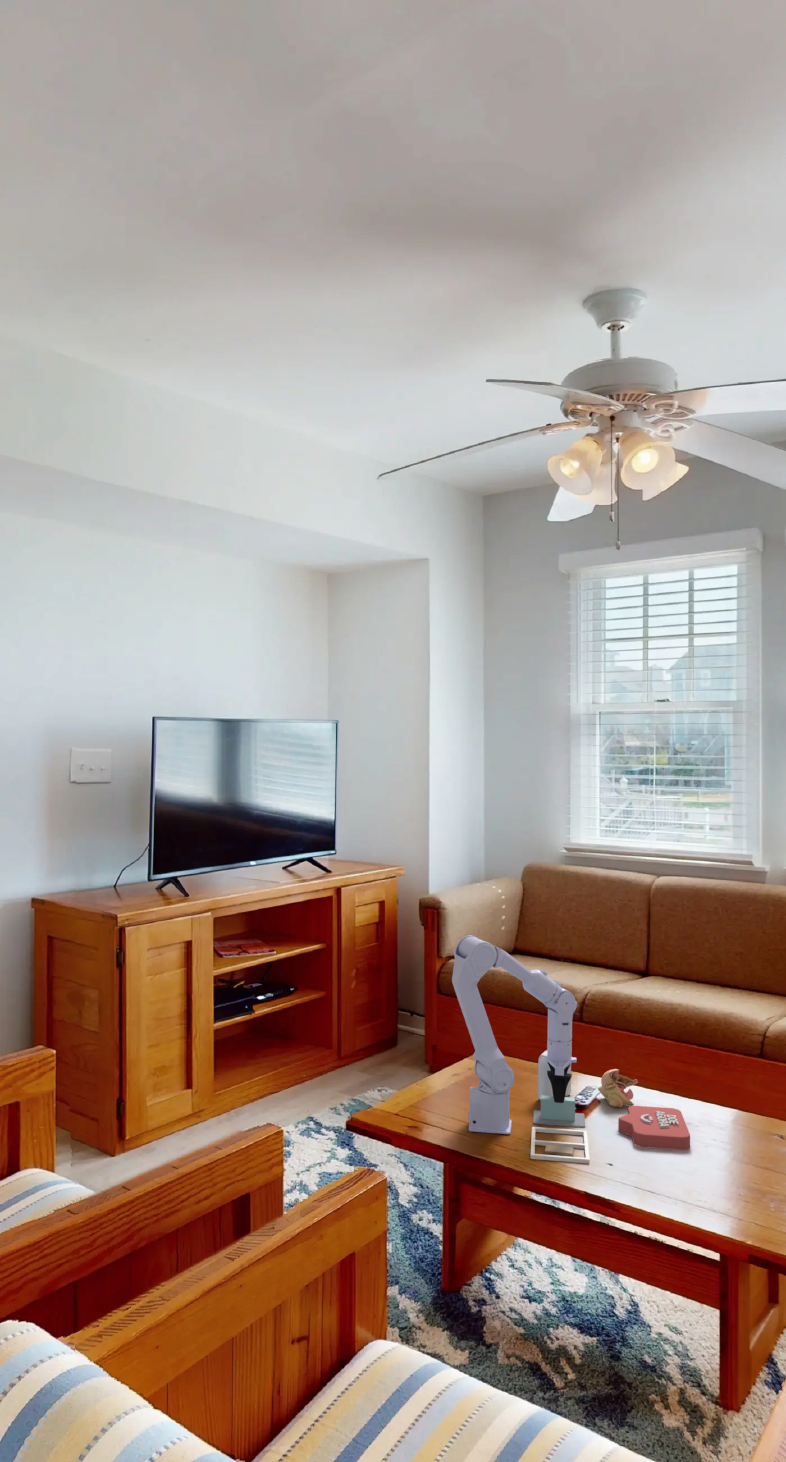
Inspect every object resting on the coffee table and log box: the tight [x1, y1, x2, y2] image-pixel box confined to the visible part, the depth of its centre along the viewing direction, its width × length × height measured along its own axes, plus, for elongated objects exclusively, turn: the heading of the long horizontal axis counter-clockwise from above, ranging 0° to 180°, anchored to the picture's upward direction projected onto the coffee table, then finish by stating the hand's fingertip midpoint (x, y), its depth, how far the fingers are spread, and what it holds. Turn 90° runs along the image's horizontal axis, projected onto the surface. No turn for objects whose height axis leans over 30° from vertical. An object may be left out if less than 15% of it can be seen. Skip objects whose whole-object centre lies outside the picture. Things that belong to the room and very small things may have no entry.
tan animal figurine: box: [597, 1068, 639, 1108], centre depth 239 cm, size 9×10×10 cm
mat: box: [532, 1109, 586, 1129], centre depth 227 cm, size 12×8×1 cm, turn 81°
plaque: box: [617, 1105, 691, 1151], centre depth 220 cm, size 18×4×15 cm
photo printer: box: [537, 1049, 572, 1101], centre depth 243 cm, size 10×4×12 cm, turn 134°
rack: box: [530, 1126, 591, 1164], centre depth 212 cm, size 12×16×1 cm
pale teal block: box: [540, 1095, 576, 1121], centre depth 228 cm, size 8×2×5 cm, turn 81°
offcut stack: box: [544, 1145, 575, 1157], centre depth 208 cm, size 6×4×2 cm, turn 78°
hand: (558, 1096), depth 228 cm, fingers open, 7 cm apart
